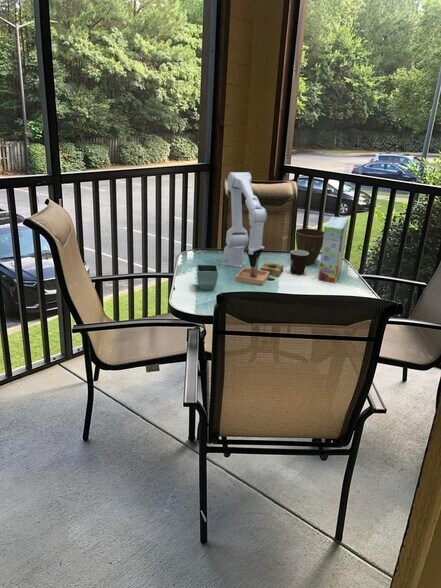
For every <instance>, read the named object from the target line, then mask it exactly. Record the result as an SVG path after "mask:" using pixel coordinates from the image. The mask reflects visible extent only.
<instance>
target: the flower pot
mask: <svg viewBox="0 0 441 588" xmlns="http://www.w3.org/2000/svg"><path fill="white" fill-rule="evenodd" d="M196 275H197V283H198V286H199V289H200V290H206V291H207V290H210V291H213V290H214V289H215V287H216V285H217V282H218V279H219V278H218V276H219V269H218V264H196Z"/></svg>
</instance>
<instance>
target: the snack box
mask: <svg viewBox="0 0 441 588" xmlns="http://www.w3.org/2000/svg"><path fill="white" fill-rule="evenodd" d="M348 223H349V218H348V217H339V216H331V218H329V221H328V222H327V223H326V224H325V226H324V229H323V232H324V236H323V244H322V248H321V252H320V253H321V254H320V262H319V271H318V278H317V280H318V281H322V282H329V283H335V284H336V281H337V279H338V276H339V275H340V273H341V270H342V269H343V268H342V266H343V261H344V251H345V247H346V246H345V245H346V239H347V231H348Z"/></svg>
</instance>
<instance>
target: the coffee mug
mask: <svg viewBox="0 0 441 588" xmlns="http://www.w3.org/2000/svg"><path fill="white" fill-rule="evenodd" d="M289 253H290V254H289V255H290V257H289V259H290V262H289V264H290V265H289V266H290V268H289V269H290V273H291V274H292V275H295V276H302V275H304V274H305V271H306V270H305V269H306V266H307V265H306V263H307V259H308V255H309V253H308V252H306V251H303V250H297V249H293V250H291V251H290V252H289Z"/></svg>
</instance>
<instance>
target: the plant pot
mask: <svg viewBox="0 0 441 588" xmlns="http://www.w3.org/2000/svg"><path fill="white" fill-rule="evenodd" d="M323 236H324V230H320V229H315V228H298V229H296V230H295V243H296V250H303V251H306V252H308V253H309V255H308V259H307V263H306V266H307V265H308V266H311V265H315V263H316V262H317V261H316V260H317V259H318V256H319V255H320V253H321V252H322V244H323Z"/></svg>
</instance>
